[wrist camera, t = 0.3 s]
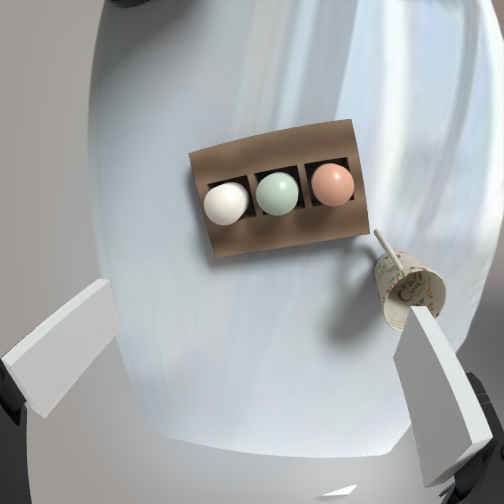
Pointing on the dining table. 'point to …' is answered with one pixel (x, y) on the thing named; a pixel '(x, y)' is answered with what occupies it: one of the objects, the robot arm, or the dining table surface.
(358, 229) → the button panel
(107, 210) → the dining table surface
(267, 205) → the button sage
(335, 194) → the button terracotta
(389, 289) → the mug
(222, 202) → the button cream
